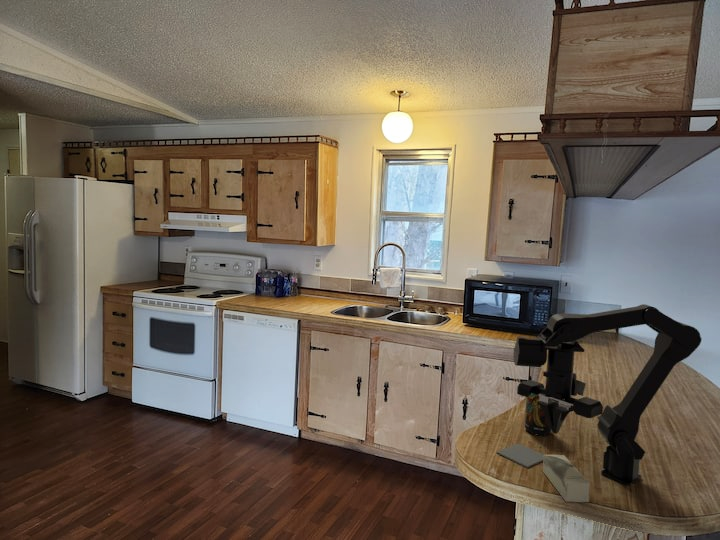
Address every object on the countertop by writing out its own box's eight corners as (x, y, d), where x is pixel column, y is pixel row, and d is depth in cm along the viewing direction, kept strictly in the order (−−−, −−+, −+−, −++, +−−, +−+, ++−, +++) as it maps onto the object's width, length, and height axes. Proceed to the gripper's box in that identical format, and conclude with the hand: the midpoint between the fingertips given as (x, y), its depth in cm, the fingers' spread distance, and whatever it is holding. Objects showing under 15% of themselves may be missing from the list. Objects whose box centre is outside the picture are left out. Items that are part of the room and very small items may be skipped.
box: (564, 454, 112) (592, 482, 99) (563, 472, 113) (590, 503, 100) (542, 454, 112) (567, 482, 99) (541, 472, 112) (565, 502, 100)
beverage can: (524, 433, 134) (526, 392, 133) (524, 424, 141) (527, 384, 140) (551, 438, 132) (553, 395, 131) (550, 428, 138) (553, 388, 137)
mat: (548, 458, 119) (549, 456, 119) (527, 467, 114) (527, 466, 114) (518, 444, 127) (518, 443, 127) (496, 453, 121) (496, 451, 121)
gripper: (617, 373, 109) (611, 439, 110) (543, 355, 124) (539, 413, 125) (592, 381, 102) (586, 451, 104) (517, 360, 117) (513, 422, 118)
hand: (555, 433), depth 113 cm, fingers closed
